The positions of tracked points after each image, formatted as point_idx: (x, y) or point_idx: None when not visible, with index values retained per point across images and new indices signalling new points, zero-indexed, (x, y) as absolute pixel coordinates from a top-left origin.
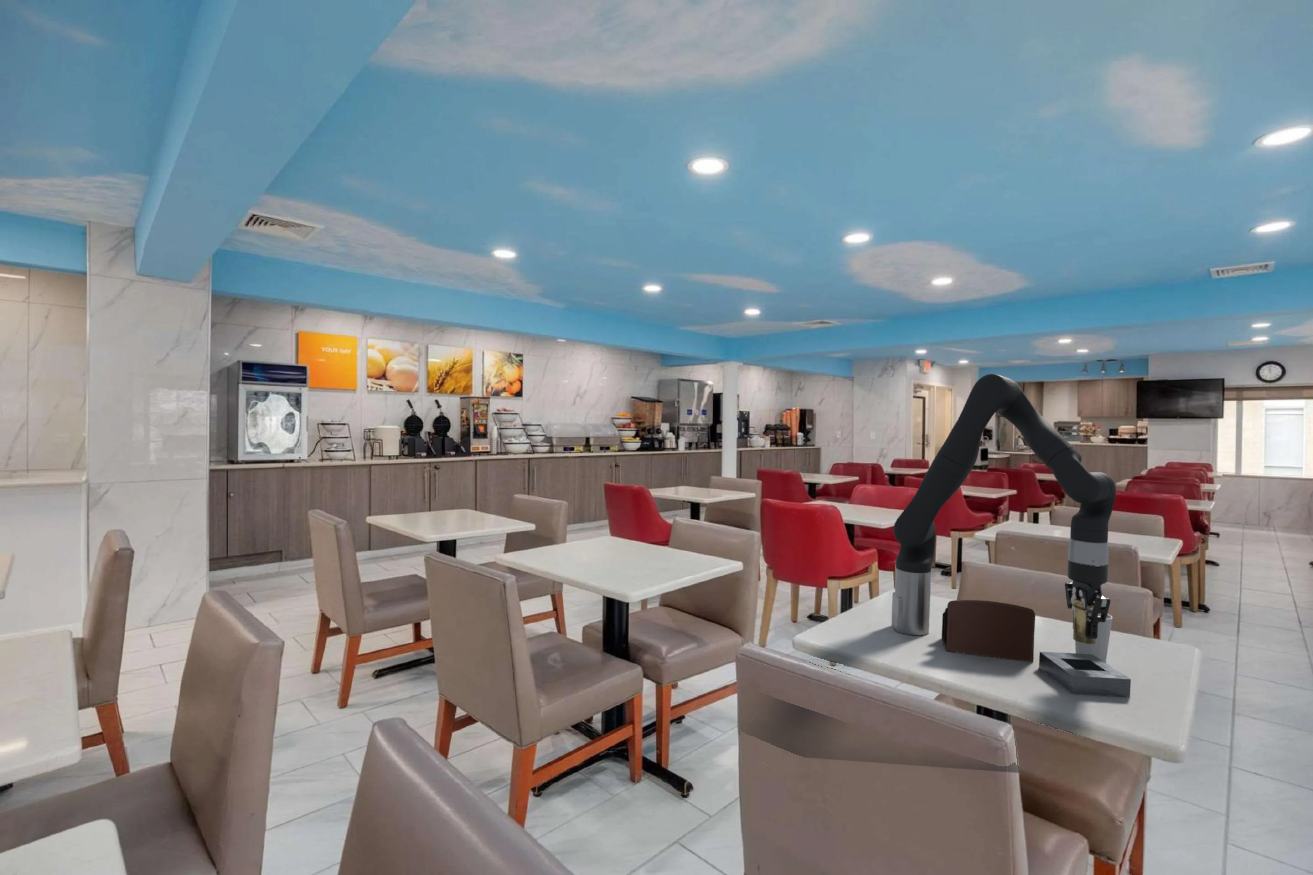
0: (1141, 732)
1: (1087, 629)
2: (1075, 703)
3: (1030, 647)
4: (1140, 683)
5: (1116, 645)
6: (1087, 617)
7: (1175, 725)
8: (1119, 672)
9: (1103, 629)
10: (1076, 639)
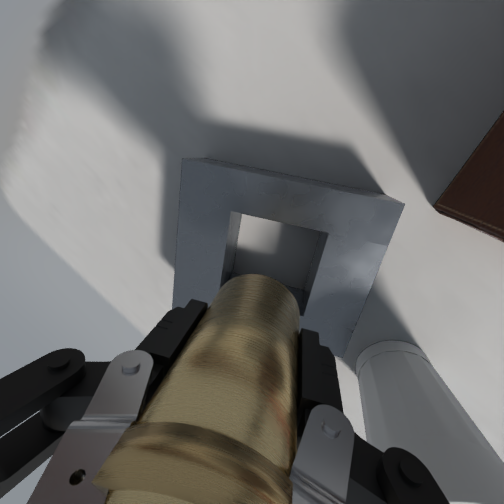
0: (35, 173)
1: (174, 322)
2: (149, 123)
3: (469, 209)
4: None
5: None
6: (125, 374)
7: (80, 266)
8: None
9: None
10: (249, 277)
